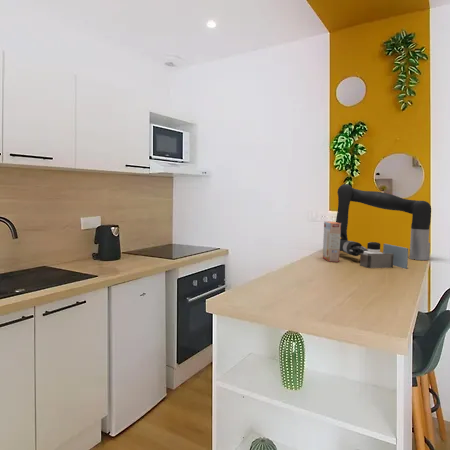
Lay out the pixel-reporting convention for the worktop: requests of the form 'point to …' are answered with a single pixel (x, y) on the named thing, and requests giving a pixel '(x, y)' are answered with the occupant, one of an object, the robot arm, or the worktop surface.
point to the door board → (397, 255)
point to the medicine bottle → (372, 248)
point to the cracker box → (331, 241)
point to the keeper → (377, 260)
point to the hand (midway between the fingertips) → (369, 252)
